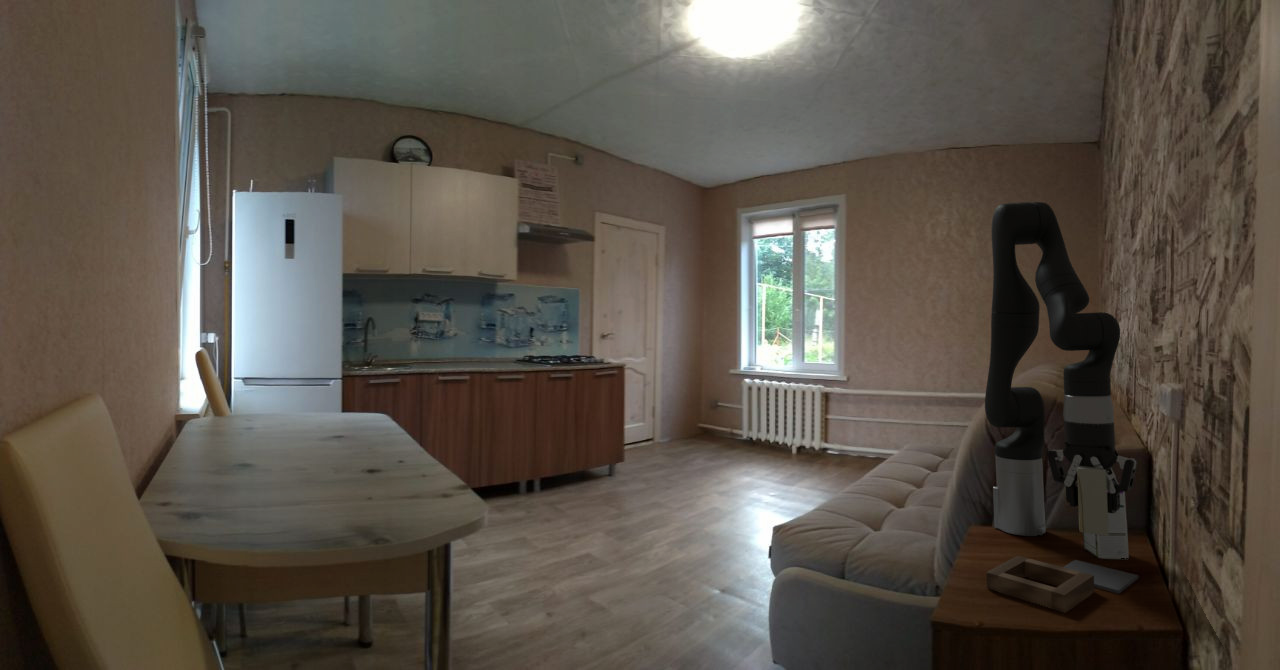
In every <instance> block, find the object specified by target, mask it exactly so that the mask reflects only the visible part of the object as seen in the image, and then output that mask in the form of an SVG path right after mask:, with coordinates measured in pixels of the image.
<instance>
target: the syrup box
mask: <svg viewBox="0 0 1280 670" xmlns="http://www.w3.org/2000/svg"><path fill="white" fill-rule="evenodd" d="M1107 493H1108V490H1107ZM1126 504H1127V503H1126V492H1120V509H1119V510H1117V511H1116V512H1115V513H1108V536H1106V535H1098V534H1090V533H1083V532H1082V539H1083V549H1084V550H1085V551H1087V552H1089V553H1090V554H1092V555H1093V556H1095V557H1096V558H1098V559H1103V560H1104V559H1105V560H1122V559H1121V558H1125V559H1124V560H1127V559H1126V558H1129V559H1130V557H1129V555H1130V554H1129V540H1128V539H1129V537H1128V520H1127V507H1126Z"/></svg>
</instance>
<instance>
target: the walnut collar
mask: <svg viewBox="0 0 1280 670" xmlns="http://www.w3.org/2000/svg"><path fill="white" fill-rule="evenodd" d="M985 574H986V575H985V576H986V589H987V588H988V589H987V590H990V589H991V591H993V590H994V592H996V591H997V593H999V594H1002V595H1007V596H1009V597H1014V598H1016V599H1019V600H1022V601H1025V600H1026V602H1028V601H1030V602H1029V603H1032V602H1033V603H1032V604H1035V603H1037V604H1036V605H1038V604H1040V605H1039V606H1041V605H1042V606H1041V607H1044V606H1045V607H1044V608H1047V607H1048V609H1051V610H1054V611H1057V612H1060V613H1064V614H1066V613H1068V612H1069V611H1070V610H1072V609H1073V608H1075V607H1076V606H1078V605H1079V604H1080V603H1082V602H1083V601H1085V600H1086V599H1087V598H1088V597H1090V596H1091V595H1093V594H1095V587H1094V575H1091V574H1087V573H1083V572H1079V571H1075V570H1071V569H1068V568H1064V566H1059V565H1056V564H1052V563H1047V562H1044V561H1041V560H1036V559H1032V558H1028V557H1024V556H1021V555H1016V556H1015V557H1014V556H1013V558H1010V559H1008V560H1006V561H1005V562H1003V563H1001V564H999V565H997V566H995V567H993V568H991V569H990V570H988V571H986V573H985ZM1024 576H1026V577H1024ZM1023 577H1024V578H1023ZM1027 577H1031V578H1033V579H1031V578H1030V579H1026V578H1027ZM1034 579H1036V580H1034ZM1033 580H1034V581H1033ZM1038 580H1039V582H1037V581H1038ZM1041 581H1043V582H1042V583H1040V582H1041ZM1044 583H1045V584H1044ZM1047 584H1050V585H1052V586H1050V585H1047ZM1054 586H1056V587H1054Z"/></svg>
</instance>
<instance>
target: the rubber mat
mask: <svg viewBox="0 0 1280 670" xmlns="http://www.w3.org/2000/svg"><path fill="white" fill-rule="evenodd" d="M1063 567H1064V568H1068V569H1071V570H1075V571H1079V572H1083V573H1087V574H1091V575H1094V588H1097V589H1099V590H1102V591H1103V590H1104V591H1106V592H1111V593H1114V594H1118V595H1119V594H1121V593H1122V592H1123V591H1124V590H1126V589H1127V588H1128V587H1129V586H1131V585H1132V584H1133V583H1135V582H1136V581H1138V580H1139V575H1138V574H1135V573H1129V572H1127V571H1122V570H1119V569H1114V568H1110V567H1106V566H1101V565H1098V564H1094V563H1091V562H1086V561H1082V560H1078V559H1074V560H1073V561H1070V562H1069V563H1067V564H1066V565H1064V566H1063Z"/></svg>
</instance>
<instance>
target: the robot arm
mask: <svg viewBox="0 0 1280 670" xmlns="http://www.w3.org/2000/svg"><path fill="white" fill-rule="evenodd" d="M1034 244H1036V245H1037V246H1038V247H1039V248H1040V250H1041V252H1042V255H1041V258H1040V261H1039V263H1038V266H1037V268H1036V271H1035V276H1034V278H1035V286H1036V288H1037V291H1038V292H1039V295H1040V297H1041V299H1042V301H1043V303H1044V304H1045V307H1046V310H1047V317H1048V323H1049V337H1050V340H1051V342H1052V343H1053V345H1055V347H1057V348H1058V349H1060V350H1062V351H1066V352H1068V351H1069V352H1072V351H1073V352H1075V351H1076V352H1077V351H1079V352H1080V351H1088V353H1087V355H1086V357H1085V359H1084V360H1081V361H1078V362H1074V363H1071V364H1067V365H1065V367H1063V368H1064V369H1063V373H1062V374H1063V391H1064V392H1063V393H1064V394H1063V395H1064V396H1063V397H1064V398H1063V409H1062V410H1063V412H1062V417H1063V423H1064V424H1063V427H1064V429H1063V430H1064V447H1063V449H1055V448H1054V449H1050V450H1048V451H1046V456H1047V460H1048V463H1049V468H1050V472H1051V474H1052V478H1053V480H1054V481H1055V482H1056V483H1057V482H1059V483H1060V484H1063V485H1064V487H1065V497H1066V498H1065V499H1066V502H1067V503H1069V505H1070V507H1078V485H1077V483H1078V479H1077V466H1088V467H1095V468H1097V469H1106V473H1107V490H1108V493H1107V507H1108V513H1115V512H1116V511H1117V510H1119V509H1120V492H1125V493H1126V492H1128V491H1130V490H1132V489H1133V487H1134V482H1135V478H1136V474H1137V473H1136V472H1137V468H1138V462H1139V461H1138V459H1137V458H1136V457H1130V458H1129V457H1124V456H1122V455H1119V453H1118V452H1117V449H1116V439H1115V438H1116V437H1115V436H1116V435H1115V417H1114V413H1115V412H1114V404H1113V400H1112V390H1111V389H1112V388H1111V371H1112V369H1113V368H1112V367H1113V364H1114V360H1115V356H1116V353H1117V349H1118V346H1119V343H1120V338H1121V327H1120V324H1119V322H1118V321H1117V319H1116V318H1115V317H1114V316H1113V315H1112V314H1111V313H1108V312H1100V311H1099V312H1082V311H1083V310H1085V308H1087V307H1088V306H1089V303H1090V296H1089V294H1088V291H1087V290H1086V288H1085V286H1084V284H1083V283H1082V281H1081V280H1080V277H1079V276H1078V274H1077V273H1076V271H1075V268H1074V267H1073V265H1072V262H1071V260H1070V258H1069V254H1068V251H1067V248H1066V242H1065V240H1064V238H1063V234H1062V230H1061V228H1060V225H1059V222H1058V219H1057V216H1056V214H1055V212H1054V209H1053V208H1052V207H1051V206H1050V205H1049V204H1048V203H1047V202H1042V201H1028V202H1011V203H1010V202H1008V203H1001V204H1000V205H998V206H997V207H996V208H995V210H994V213H993V215H992V221H991V248H992V251H991V252H992V268H993V272H992V274H993V281H992V298H991V299H992V300H991V314H990V315H991V316H990V317H991V318H990V332H991V333H990V353H989V354H990V355H989V356H990V357H989V367H988V373H987V381H986V387H985V395H984V411H985V415H986V419H987V421H988V423H989V424H990V425H992V426H993V427H995V428H1001V429H1002V428H1015V430H1014V432H1013V433H1012V434H1011V435H1009V436H1008V437H1005V438H1003V439H1001V440H999V441H997V442H996V443H995V446H994V454H995V458H994V459H995V474H996V476H995V477H996V486H993V488H992V497H993V498H992V499H993V521H994V522H993V523H994V528H995V529H998V530H1001V531H1002V532H1005V533H1008V534H1011V535H1015V536H1016V535H1017V536H1024V537H1038V536H1037V535H1040V536H1043V535H1042V534H1044V533H1045V534H1046V512H1045V491H1044V490H1045V488H1044V469H1043V468H1044V467H1043V449H1044V447H1045V423H1046V410H1045V403H1044V400H1043V396H1042V394H1041V393H1040V392H1039V390H1037V389H1036V388H1035V387H1032V386H1031V387H1030V386H1012V384H1013V383H1012V382H1013V377H1014V373H1015V370H1016V368H1017V366H1018V365H1019V362H1020V361H1021V359H1022V358H1023V357H1024V356H1025V354H1026V353H1027V351H1028V350H1029V348H1030V347H1031V346H1032V344H1033V343H1034V341H1035V340H1036V338H1037V336H1038V334H1039V327H1040V307H1041V306H1040V301H1039V299H1038V297H1037V295H1036V293H1035V292H1034V290H1033V289H1032V287H1031V286H1030V284H1029V283H1028V281H1027V280H1026V279H1025V277H1024V276H1023V274H1022V272H1021V271H1020V268H1019V266H1018V263H1017V257H1016V246H1017V245H1019V246H1020V245H1034ZM1081 312H1082V313H1081ZM1064 457H1065V458H1066V460H1067V461H1068V462H1069V463H1070V464H1071V465H1070V467H1069V468H1068V471H1067V472H1066V473H1067V474H1066V473H1065V470H1064V466H1063V462H1062V461H1063V460H1064ZM1116 463H1118V464H1119V468H1120V469H1121V470H1122V475H1121V479H1120V482H1118V480H1117V477H1116V474H1115V472H1114V470H1113V468H1112V467H1113V466H1114V465H1115V464H1116ZM1045 534H1044V535H1045Z"/></svg>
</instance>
